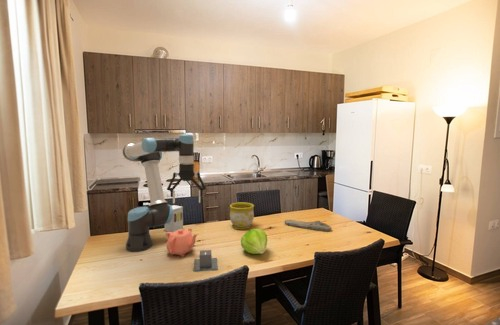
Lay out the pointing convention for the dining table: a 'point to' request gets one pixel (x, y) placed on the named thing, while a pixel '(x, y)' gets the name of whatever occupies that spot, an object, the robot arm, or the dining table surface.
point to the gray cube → (205, 258)
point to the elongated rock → (309, 225)
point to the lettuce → (254, 241)
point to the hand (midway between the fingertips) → (186, 202)
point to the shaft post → (207, 268)
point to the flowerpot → (241, 215)
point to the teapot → (180, 242)
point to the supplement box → (175, 220)
